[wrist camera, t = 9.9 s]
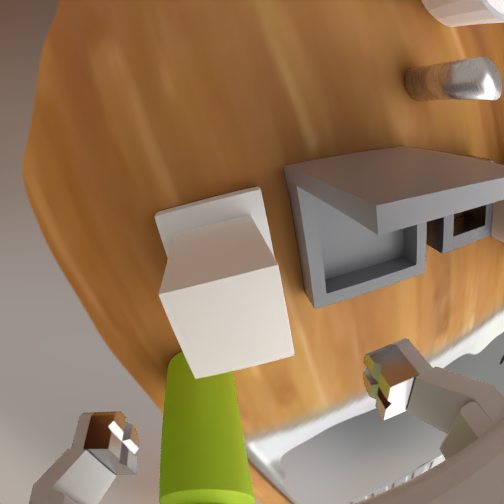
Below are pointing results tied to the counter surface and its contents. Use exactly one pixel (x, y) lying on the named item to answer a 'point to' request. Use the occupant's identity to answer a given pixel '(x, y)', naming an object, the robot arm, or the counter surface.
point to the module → (225, 298)
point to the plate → (213, 214)
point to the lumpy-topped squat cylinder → (498, 221)
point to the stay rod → (455, 81)
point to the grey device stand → (378, 214)
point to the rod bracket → (460, 227)
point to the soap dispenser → (202, 440)
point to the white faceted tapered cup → (465, 11)
